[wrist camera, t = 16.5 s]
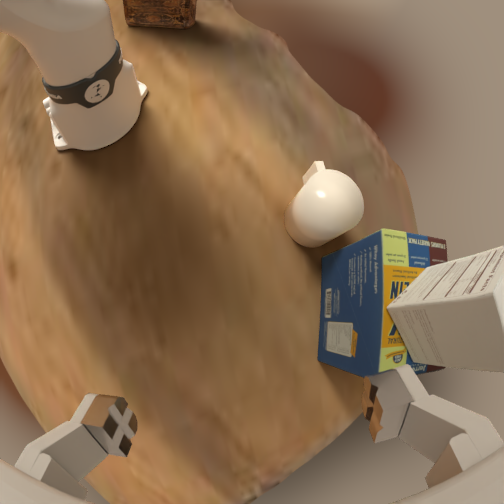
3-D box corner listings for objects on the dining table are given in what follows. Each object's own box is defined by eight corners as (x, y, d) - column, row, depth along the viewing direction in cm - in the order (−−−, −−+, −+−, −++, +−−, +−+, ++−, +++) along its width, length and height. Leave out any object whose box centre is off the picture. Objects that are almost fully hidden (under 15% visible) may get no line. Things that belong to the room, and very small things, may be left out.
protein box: (378, 261, 42) (447, 238, 27) (375, 357, 39) (446, 370, 24) (320, 255, 41) (380, 225, 26) (315, 362, 37) (377, 385, 22)
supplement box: (449, 320, 25) (541, 313, 13) (411, 364, 23) (513, 377, 11) (425, 265, 26) (521, 237, 14) (383, 305, 24) (494, 293, 12)
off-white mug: (339, 243, 41) (370, 227, 33) (290, 251, 40) (314, 234, 31) (323, 182, 43) (349, 155, 34) (275, 186, 42) (294, 156, 33)
